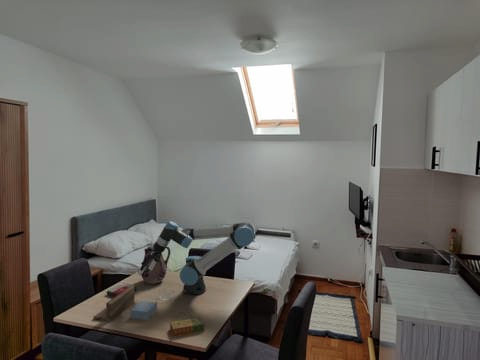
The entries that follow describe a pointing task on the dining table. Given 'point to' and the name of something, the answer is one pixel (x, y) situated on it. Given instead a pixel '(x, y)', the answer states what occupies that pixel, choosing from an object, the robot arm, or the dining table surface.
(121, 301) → the brown long angled block
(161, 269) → the ceramic pitcher
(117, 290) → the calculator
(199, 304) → the dining table surface
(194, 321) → the carton
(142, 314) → the slate block
